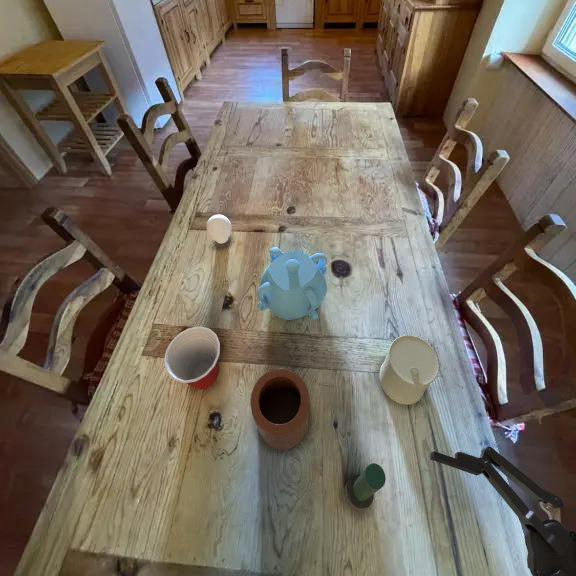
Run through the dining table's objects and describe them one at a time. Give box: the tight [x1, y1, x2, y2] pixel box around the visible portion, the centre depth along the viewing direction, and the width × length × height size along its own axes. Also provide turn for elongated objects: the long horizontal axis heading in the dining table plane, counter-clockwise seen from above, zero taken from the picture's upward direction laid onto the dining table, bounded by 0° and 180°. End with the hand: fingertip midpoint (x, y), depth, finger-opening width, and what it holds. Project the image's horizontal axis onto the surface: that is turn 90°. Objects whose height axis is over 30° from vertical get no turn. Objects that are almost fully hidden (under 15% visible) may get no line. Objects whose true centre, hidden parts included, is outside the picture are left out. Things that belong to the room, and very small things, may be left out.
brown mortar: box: [249, 367, 310, 451], centre depth 63 cm, size 10×10×13 cm
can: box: [378, 334, 440, 406], centre depth 67 cm, size 9×9×12 cm
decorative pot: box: [256, 246, 328, 321], centre depth 82 cm, size 16×16×14 cm
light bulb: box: [206, 213, 233, 248], centre depth 96 cm, size 7×7×11 cm
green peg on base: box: [343, 462, 386, 512], centre depth 51 cm, size 4×4×22 cm
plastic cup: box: [163, 325, 221, 390], centre depth 70 cm, size 11×11×12 cm
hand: (430, 513), depth 48 cm, fingers open, 13 cm apart
